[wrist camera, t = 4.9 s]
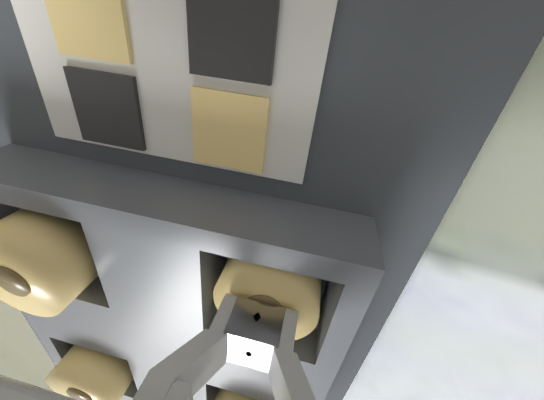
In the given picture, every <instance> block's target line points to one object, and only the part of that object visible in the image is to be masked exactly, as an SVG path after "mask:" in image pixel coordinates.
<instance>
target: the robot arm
mask: <svg viewBox="0 0 544 400" xmlns="http://www.w3.org/2000/svg"><path fill="white" fill-rule="evenodd" d="M297 320H298V311H296V310H292V309H287V308H286V309H285V307H281V306H277V305H272V304H268V303H264V302H258V301H254V300H251V299H247V298H243V297H240V296H236V295H232V294H228V293H226V294H225V296H224V297H223V299H222V302H221V304H220V306H219V308H218V311H217V313H216V315H215V317H214V320H213V322H212V324H211V326H210V329H204V330H203V331H202V332H200V333H199V334H198V335H196V336H195V337H193V338H192V339H191V340H189V341H188V342H187V343H185V344H184V345H183V346H181V347H180V348H179V349H177V350H176V351H174V352H173V353H172V354H170V355H169V356H168V357H166V358H165V359H164V360H162V361H161V362H160V363H158V364H157V365H155V366H154V367H153V368H151V369H150V370H149V372H148V373H147V375H146V377H145V379H144V380H143V382H142V384H141V386H140V387H139V389H138V391H137V393H136V394H135V396H134V398H133V399H132V400H193V396H194V395H195V394H196V393H197V392H198V391H199V390H200V389H201V388H202V387H203V386H204V385H205V384H206V383H207V382H208V381H209V380H210V379H211V378H212V377H213V376H214V375H215V374H216V373H217V372H218V371H219V370H220V369H221V368H222V367H223V366H224V365H225V364H226V362H230V363H234V364H238V365H242V366H246V367H249V368H253V369H256V370H259V371H262V372H265V373H268V376H269V379H270V383H271V387H272V391H273V395H274V398H275V400H316V399H315V396H314V394H313V391H312V389H311V387H310V384H309V382H308V379H307V377H306V374H305V372H304V370H303V367H302V365H301V362H300V360H299V358H298V355H297V353H294V352H293V348H294V341H295V334H296V327H297ZM0 400H77V399H74V398H71V397H68V396H65V395H62V394H58V393H55V392H52V391H49V390H46V389H43V388H40V387H37V386H34V385H31V384H28V383H24V382H21V381H18V380H15V379H12V378H9V377H6V376H3V375H0Z"/></svg>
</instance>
